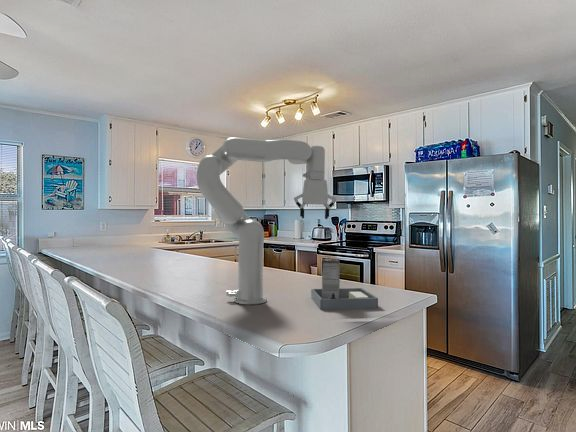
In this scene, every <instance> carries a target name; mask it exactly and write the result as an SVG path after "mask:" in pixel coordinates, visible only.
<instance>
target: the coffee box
mask: <svg viewBox="0 0 576 432" xmlns="http://www.w3.org/2000/svg"><path fill="white" fill-rule="evenodd" d="M321 263H322V264H321V289H322V299H339V291H340V282H341V281H340V276H341V275H340V273H341V272H340V271H341V270H340V268H341V267H340V265H341V263H340V258H330V257H329V258H326V257H325V258H322V261H321Z"/></svg>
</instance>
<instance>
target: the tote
mask: <svg viewBox="0 0 576 432" xmlns="http://www.w3.org/2000/svg"><path fill="white" fill-rule="evenodd" d="M349 292H362V293H363V294H365V295H366V296H368V297H369V298H349ZM310 296H311V297H310V298H311V300H312V301H313V302H314V304H315V305H316V306H317V308H318V309H319V310H322V311H323V310H324V311H327V310H328V311H329V310H330V311H333V310H339V311H340V310H366V309H367V310H368V309H369V310H371V309H372V310H373V309H374V310H375V309H379V298H378V297H377V296H375V294H372V293H370V292H369V291H367V290H366V289H364V288H362V287H352V288H351V287H350V288H349V287H348V288H347V287H345V288H344V287H343V288H342V287H341V288H340V291H339V299H322V288H311V290H310Z"/></svg>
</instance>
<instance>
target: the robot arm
mask: <svg viewBox="0 0 576 432" xmlns="http://www.w3.org/2000/svg"><path fill="white" fill-rule="evenodd" d="M278 160H287V161H288V162H289V163H290V164H292V165H304V164H305V167H306V168H305V171H306V172H304V173H302V178H305V179H304V181H303V188H302V193H301V194H298V195H297V196H295V197H293V201H294V203H295V205H296V206H297V207H298V208H299V210H300V211H299V217H301V219H304V218H305V208H304V207H305V206H306V205H323V207H325V209H324V219H325V220H328V219H329V217H330V209H331V208H332V207H333V206H334V204H335V202H336V201H337V199H336V197H334V196H332V195H330V194H329V192H328V191H329V188H328V182H327V179H325V176H326V175H325V174H326V173H325V171H326V170H325V168H326V167H325V165H326V149H325V148H324V147H323V146H321V145H310V144H309V143H307V142H306V141H301V140H293V139H292V140H291V139H290V140H289V139H257V138H255V139H253V138H246V137H245V138H244V137H229V138H227V139H226V140H224V142H223V144H222V145H221V146H220V147H219V148H218V149H216V151H214V152H212V154H210V155H209V154H208V155H206V156H204V157H202V158H201V159H200V160H199V163H198V167H197V169H196V183H197V187H198V189H199V192H200V194H201V195H202V196H203V198H205V200H206V201H207V202H208V204H209V205H211V207H212V208H213V210H215V211H216V213H217V216H218V218H219V220H220V221H221V222H222V223H223V224H224V225H225V226H226V228H228V230H229V231H230V232H231V233H232V234H233V235H234V236H235V237H236V238H237V239H238V251H237V257H238V265H237V267H238V268H237V269H238V270H237V271H238V272H237V276H238V277H237V278H238V279H237V280H238V281H237V285H238V286H237V289H235V290H226V297H233V300H234V301H233V302H234V303H236V304H238V303H239V304H240V305H260V304H264V303H266V302H267V300H268V299H267V296H265V295H263V294H264V288H263V287H264V242H265V231H264V226H263V225H262V224H261V223H260V222H259V221H257V220H255V219H252V218H251V217H250V216H249V215H248V214H247V212H245V209H244V206H243V205H242V204H241V202H240V201H239V200H237V199H236V197H234V195H232V193H231V192H230V191H229V190H228V189H227V187H226V186H225V185H224V183H223V182H222V180H221V175H222V174H223V173H224V172H226V171H227V170H228V169H229V168H231V167H232V166H233V165H234V164H235V163H237V162H238V161H242V162H243V161H246V162H247V161H248V162H260V163H266V162H272V161H278ZM301 198H302V199H301ZM300 199H301V200H302V203H300V202H299V200H300ZM329 200H331V202H330V203H329V202H328V201H329ZM239 304H238V305H239Z"/></svg>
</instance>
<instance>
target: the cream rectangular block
mask: <svg viewBox="0 0 576 432" xmlns="http://www.w3.org/2000/svg"><path fill="white" fill-rule="evenodd" d="M349 298H369V297H368V296H366V295H365V294H363V293H362V292H349Z"/></svg>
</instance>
